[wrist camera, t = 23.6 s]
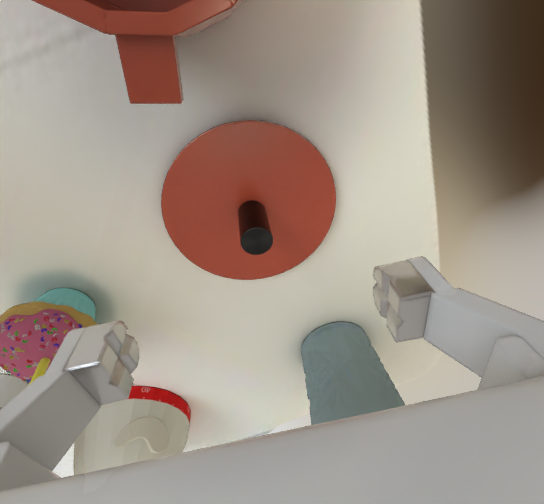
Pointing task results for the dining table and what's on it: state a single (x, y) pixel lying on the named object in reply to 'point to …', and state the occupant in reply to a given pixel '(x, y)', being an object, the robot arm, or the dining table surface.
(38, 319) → the cupcake
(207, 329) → the dining table surface
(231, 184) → the pot lid
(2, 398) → the coffee cup
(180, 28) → the pot
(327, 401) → the blue-grey cup
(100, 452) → the kitchen timer
